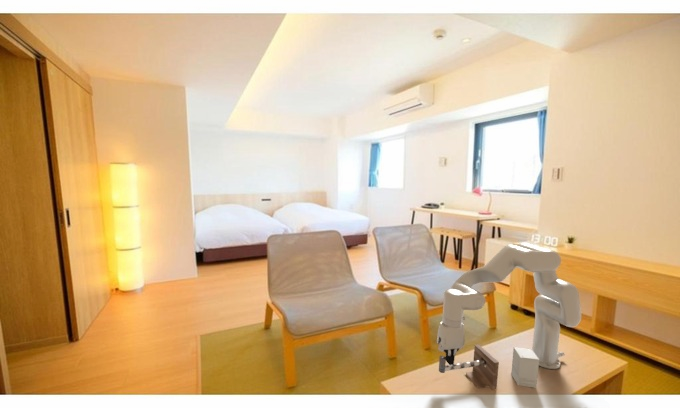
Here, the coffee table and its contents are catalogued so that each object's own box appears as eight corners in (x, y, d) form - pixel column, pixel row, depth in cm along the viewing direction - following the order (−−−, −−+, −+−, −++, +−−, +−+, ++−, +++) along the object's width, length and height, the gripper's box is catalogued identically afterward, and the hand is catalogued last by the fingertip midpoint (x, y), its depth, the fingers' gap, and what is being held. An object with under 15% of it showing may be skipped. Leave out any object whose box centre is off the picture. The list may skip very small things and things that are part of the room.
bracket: (476, 369, 130) (478, 344, 129) (496, 389, 119) (498, 362, 117) (462, 371, 129) (464, 346, 127) (481, 392, 117) (483, 364, 116)
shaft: (480, 362, 124) (481, 349, 123) (484, 366, 122) (485, 353, 121) (437, 369, 120) (438, 355, 119) (440, 373, 118) (441, 359, 117)
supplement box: (537, 388, 120) (540, 359, 118) (517, 385, 121) (519, 357, 119) (529, 375, 127) (532, 348, 125) (510, 373, 128) (513, 346, 127)
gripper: (463, 314, 122) (460, 354, 125) (430, 317, 119) (428, 359, 121) (475, 323, 115) (471, 366, 117) (440, 327, 112) (438, 371, 114)
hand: (449, 362), depth 119 cm, fingers closed
